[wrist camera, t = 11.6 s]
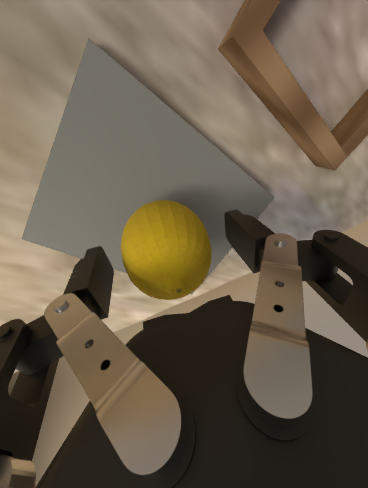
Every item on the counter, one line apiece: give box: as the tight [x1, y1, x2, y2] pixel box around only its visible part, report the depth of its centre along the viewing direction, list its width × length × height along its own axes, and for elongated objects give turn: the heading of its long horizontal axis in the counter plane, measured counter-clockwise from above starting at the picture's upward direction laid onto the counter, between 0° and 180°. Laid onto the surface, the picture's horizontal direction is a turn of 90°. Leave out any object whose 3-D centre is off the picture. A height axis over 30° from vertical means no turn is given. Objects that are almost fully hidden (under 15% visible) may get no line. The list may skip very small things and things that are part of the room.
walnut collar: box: [218, 0, 368, 170], centre depth 11 cm, size 12×12×2 cm
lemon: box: [121, 200, 212, 300], centre depth 12 cm, size 6×6×8 cm
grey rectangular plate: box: [22, 39, 274, 294], centre depth 16 cm, size 16×13×1 cm
